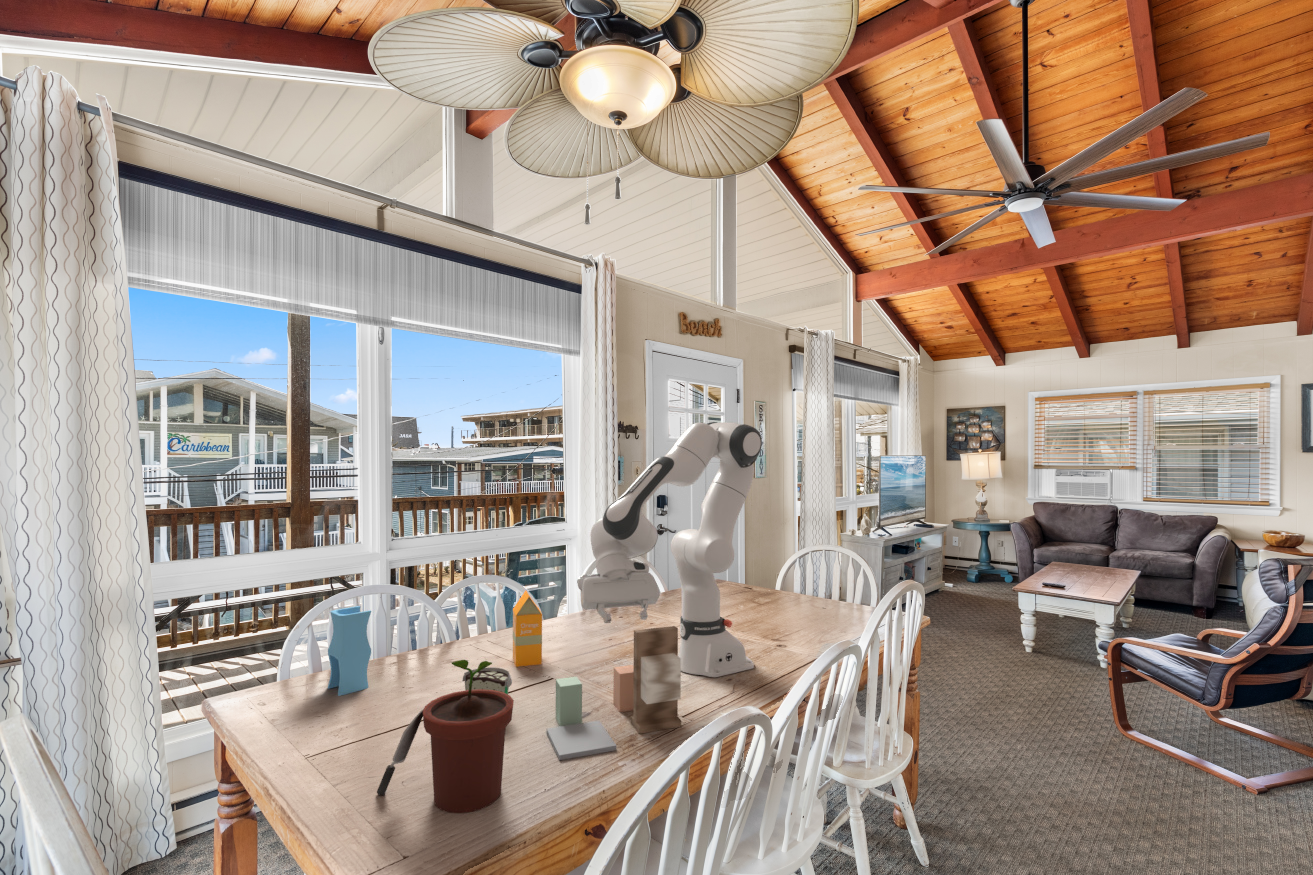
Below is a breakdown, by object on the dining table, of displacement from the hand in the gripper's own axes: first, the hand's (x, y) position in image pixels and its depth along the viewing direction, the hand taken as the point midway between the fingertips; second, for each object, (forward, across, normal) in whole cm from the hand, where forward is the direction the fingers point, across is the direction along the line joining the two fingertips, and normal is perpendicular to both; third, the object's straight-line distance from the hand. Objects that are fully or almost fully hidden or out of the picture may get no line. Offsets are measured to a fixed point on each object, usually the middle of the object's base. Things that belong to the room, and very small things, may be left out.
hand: (626, 620), depth 154 cm
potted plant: (+34, -42, -4) cm, 54 cm away
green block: (+18, -15, +11) cm, 26 cm away
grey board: (+25, -15, +4) cm, 30 cm away
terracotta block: (+15, 0, +13) cm, 20 cm away
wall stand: (+24, +3, +5) cm, 25 cm away
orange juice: (-14, -17, +43) cm, 49 cm away
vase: (-10, -64, +40) cm, 76 cm away
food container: (+11, -31, +19) cm, 38 cm away
